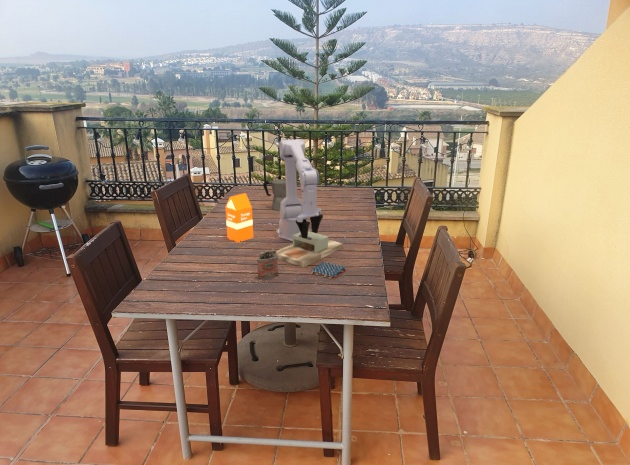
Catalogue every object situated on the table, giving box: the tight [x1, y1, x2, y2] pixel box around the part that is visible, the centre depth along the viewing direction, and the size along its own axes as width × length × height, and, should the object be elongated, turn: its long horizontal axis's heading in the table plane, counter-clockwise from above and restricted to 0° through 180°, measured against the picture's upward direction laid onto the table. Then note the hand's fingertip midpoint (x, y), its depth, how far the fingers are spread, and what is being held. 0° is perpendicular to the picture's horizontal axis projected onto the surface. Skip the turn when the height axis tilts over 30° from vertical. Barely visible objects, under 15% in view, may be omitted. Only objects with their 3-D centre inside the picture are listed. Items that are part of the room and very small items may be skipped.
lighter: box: [256, 248, 280, 280], centre depth 168 cm, size 8×3×10 cm, turn 117°
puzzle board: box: [273, 239, 344, 268], centre depth 190 cm, size 16×26×2 cm, turn 141°
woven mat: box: [309, 261, 347, 280], centre depth 173 cm, size 10×11×2 cm
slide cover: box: [292, 230, 329, 253], centre depth 190 cm, size 12×8×6 cm, turn 51°
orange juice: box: [225, 192, 254, 243], centre depth 204 cm, size 8×9×20 cm
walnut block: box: [303, 242, 314, 251], centre depth 191 cm, size 4×4×4 cm
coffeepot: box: [262, 175, 289, 212], centre depth 247 cm, size 15×9×18 cm, turn 103°
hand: (309, 235), depth 180 cm, fingers open, 7 cm apart
